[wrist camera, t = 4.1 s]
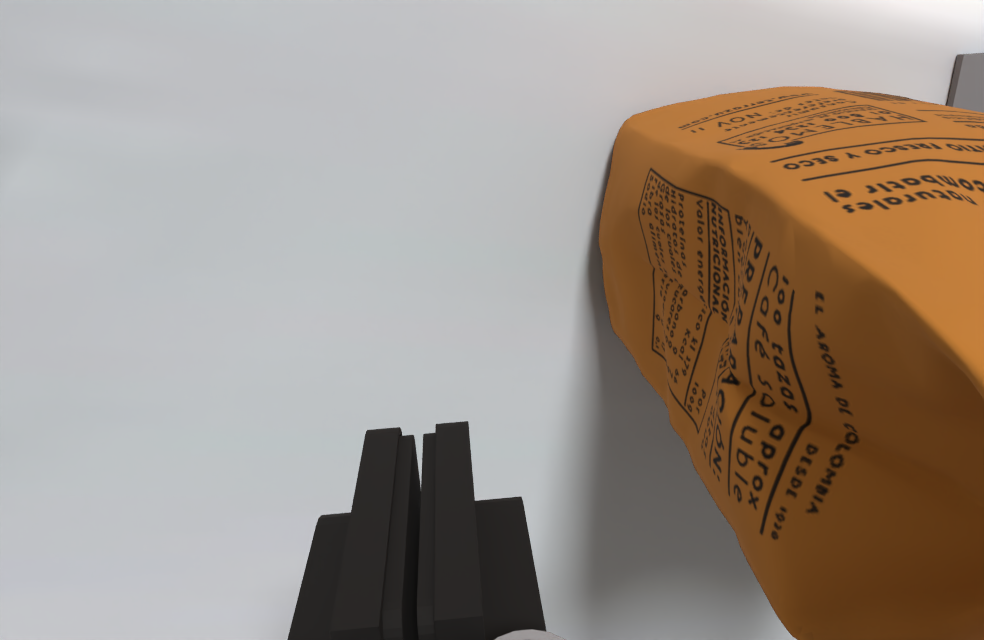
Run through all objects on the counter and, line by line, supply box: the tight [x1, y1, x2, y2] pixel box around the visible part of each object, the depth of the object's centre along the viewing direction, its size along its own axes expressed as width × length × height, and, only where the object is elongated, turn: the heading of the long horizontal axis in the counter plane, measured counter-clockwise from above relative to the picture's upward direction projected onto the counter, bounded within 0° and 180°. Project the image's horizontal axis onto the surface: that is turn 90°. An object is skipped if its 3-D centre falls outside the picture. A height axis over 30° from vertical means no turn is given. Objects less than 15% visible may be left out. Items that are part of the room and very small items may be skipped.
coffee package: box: [599, 87, 984, 640], centre depth 14 cm, size 10×12×22 cm
